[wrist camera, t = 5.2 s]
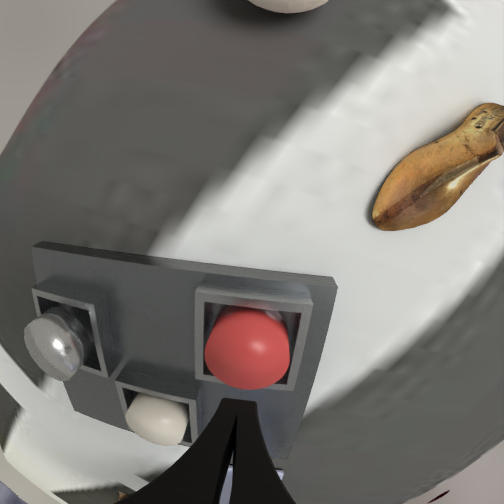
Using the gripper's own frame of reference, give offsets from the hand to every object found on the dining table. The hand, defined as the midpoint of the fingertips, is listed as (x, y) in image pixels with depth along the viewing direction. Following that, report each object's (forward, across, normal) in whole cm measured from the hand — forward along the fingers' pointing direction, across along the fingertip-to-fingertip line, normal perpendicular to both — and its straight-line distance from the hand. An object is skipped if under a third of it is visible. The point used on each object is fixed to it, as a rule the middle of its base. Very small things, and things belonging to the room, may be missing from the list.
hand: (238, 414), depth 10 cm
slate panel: (+8, +6, +5) cm, 11 cm away
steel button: (+5, +12, +2) cm, 14 cm away
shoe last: (+8, -11, -12) cm, 18 cm away
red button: (+6, 0, 0) cm, 6 cm away
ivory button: (+6, +6, +8) cm, 12 cm away
